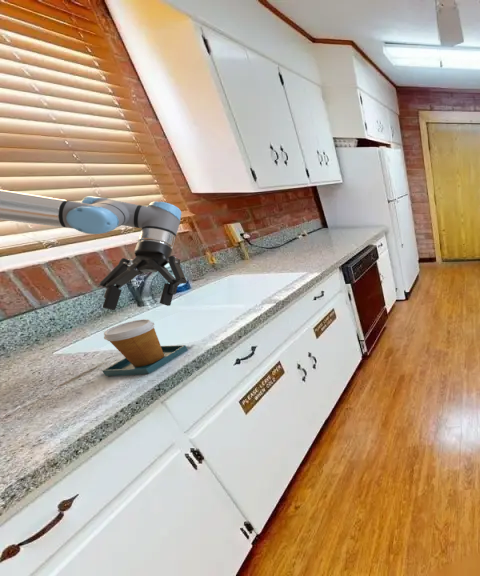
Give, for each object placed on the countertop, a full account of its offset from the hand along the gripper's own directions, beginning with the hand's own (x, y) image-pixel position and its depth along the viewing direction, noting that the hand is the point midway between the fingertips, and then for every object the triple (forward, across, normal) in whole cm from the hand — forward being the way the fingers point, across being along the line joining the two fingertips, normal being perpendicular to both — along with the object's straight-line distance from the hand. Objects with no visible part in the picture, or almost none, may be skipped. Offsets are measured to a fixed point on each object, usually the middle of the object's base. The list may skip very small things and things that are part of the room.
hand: (137, 306), depth 89 cm
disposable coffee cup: (+16, -2, -6) cm, 17 cm away
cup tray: (+16, -1, -7) cm, 17 cm away
